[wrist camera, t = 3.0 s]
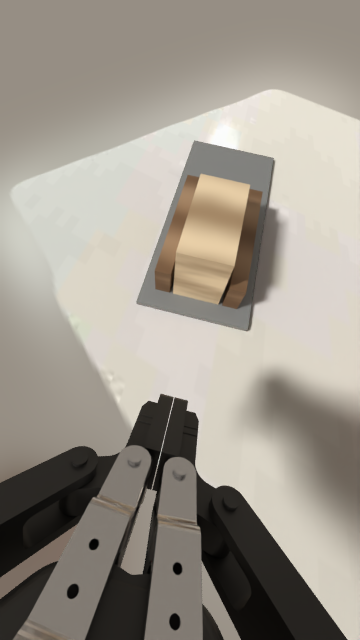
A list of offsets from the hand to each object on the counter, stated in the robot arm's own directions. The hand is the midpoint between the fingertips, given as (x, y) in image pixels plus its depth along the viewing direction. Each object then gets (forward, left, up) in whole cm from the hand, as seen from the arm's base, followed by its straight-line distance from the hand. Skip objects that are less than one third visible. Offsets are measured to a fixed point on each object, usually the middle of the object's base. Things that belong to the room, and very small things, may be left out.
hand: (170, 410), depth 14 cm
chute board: (-19, -15, -11) cm, 27 cm away
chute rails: (-15, -12, -11) cm, 22 cm away
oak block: (-14, -11, -10) cm, 20 cm away
